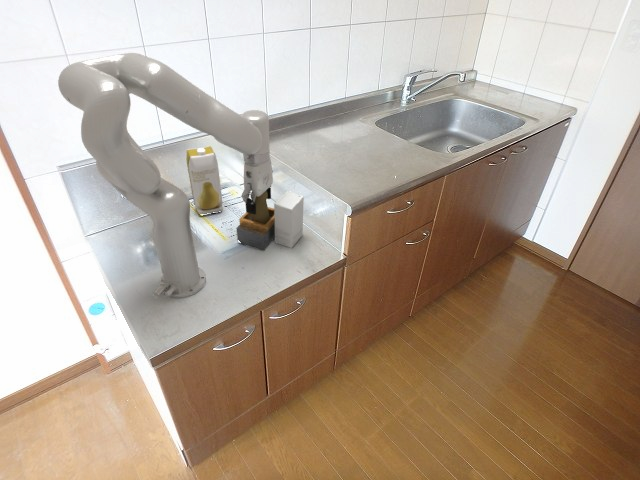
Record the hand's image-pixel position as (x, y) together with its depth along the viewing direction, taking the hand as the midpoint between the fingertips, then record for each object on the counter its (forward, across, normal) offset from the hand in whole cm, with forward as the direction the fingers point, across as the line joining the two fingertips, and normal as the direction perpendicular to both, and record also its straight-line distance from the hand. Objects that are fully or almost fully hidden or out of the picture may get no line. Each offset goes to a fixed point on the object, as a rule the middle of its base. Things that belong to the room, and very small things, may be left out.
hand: (258, 205), depth 129 cm
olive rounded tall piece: (+6, 0, 0) cm, 6 cm away
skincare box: (+12, +2, -10) cm, 15 cm away
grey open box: (+12, 0, 0) cm, 12 cm away
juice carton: (+12, +6, +23) cm, 27 cm away
